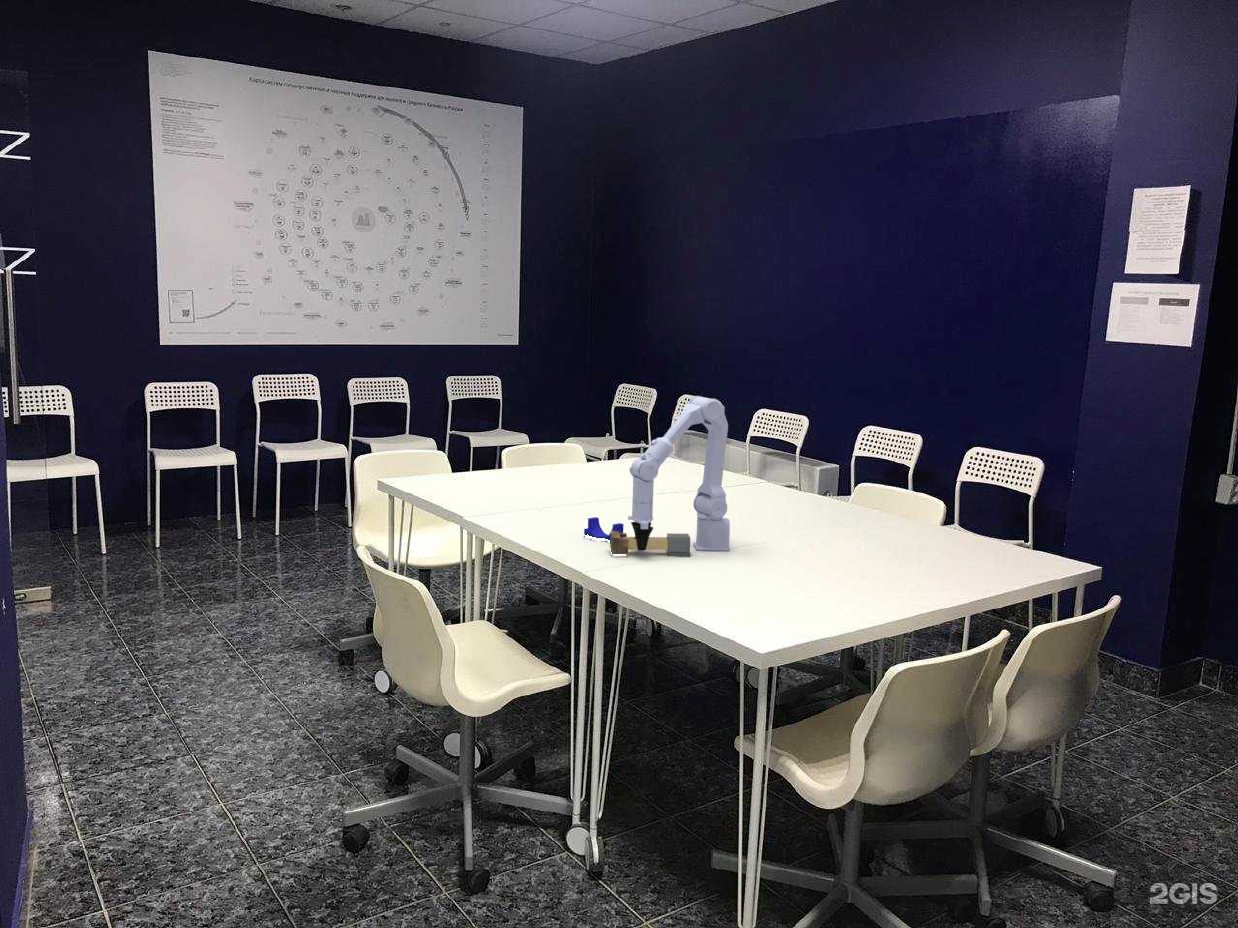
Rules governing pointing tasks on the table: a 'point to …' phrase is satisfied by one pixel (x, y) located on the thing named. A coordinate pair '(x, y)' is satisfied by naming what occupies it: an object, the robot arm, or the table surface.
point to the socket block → (618, 543)
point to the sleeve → (679, 545)
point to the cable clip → (596, 530)
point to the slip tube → (650, 543)
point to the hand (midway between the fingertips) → (641, 548)
